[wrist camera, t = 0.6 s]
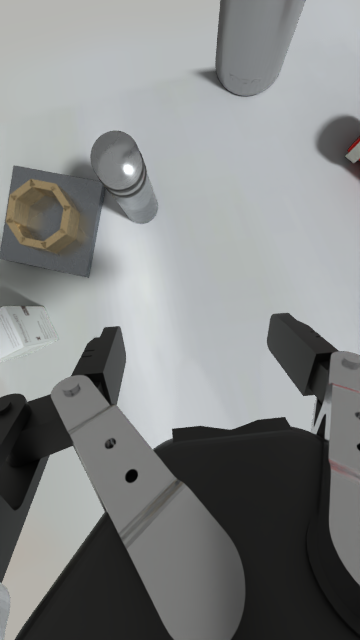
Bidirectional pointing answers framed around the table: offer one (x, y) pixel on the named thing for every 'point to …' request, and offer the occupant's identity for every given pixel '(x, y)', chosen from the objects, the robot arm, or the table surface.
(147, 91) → the table surface
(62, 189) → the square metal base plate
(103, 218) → the table surface
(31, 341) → the skincare box
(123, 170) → the piston
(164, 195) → the table surface
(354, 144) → the toy hammer
